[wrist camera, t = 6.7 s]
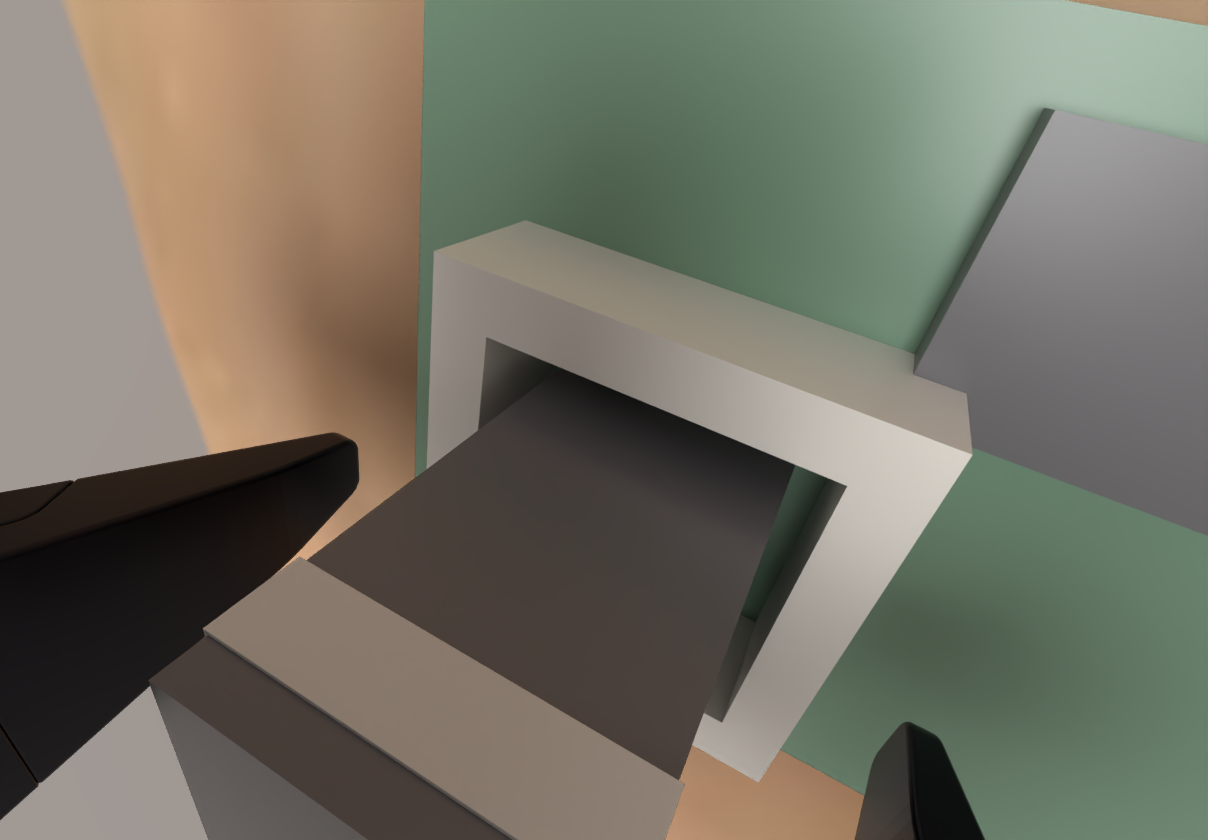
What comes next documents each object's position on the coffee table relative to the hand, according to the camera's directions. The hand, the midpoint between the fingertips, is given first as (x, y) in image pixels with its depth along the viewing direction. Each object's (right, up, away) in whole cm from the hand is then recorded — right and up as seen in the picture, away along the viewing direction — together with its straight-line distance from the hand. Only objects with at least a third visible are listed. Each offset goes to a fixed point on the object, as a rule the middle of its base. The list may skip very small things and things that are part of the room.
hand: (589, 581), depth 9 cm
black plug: (+1, +1, +3) cm, 3 cm away
